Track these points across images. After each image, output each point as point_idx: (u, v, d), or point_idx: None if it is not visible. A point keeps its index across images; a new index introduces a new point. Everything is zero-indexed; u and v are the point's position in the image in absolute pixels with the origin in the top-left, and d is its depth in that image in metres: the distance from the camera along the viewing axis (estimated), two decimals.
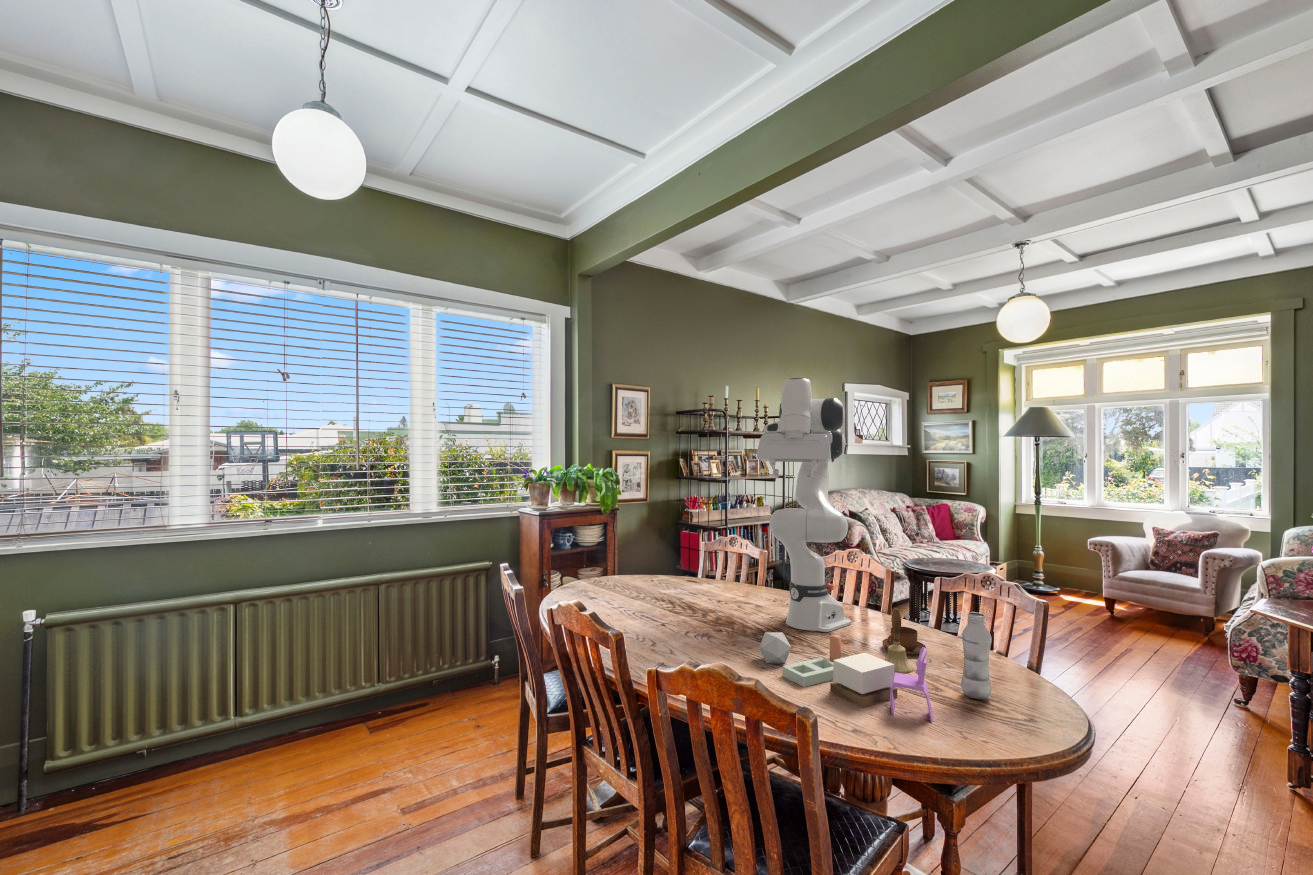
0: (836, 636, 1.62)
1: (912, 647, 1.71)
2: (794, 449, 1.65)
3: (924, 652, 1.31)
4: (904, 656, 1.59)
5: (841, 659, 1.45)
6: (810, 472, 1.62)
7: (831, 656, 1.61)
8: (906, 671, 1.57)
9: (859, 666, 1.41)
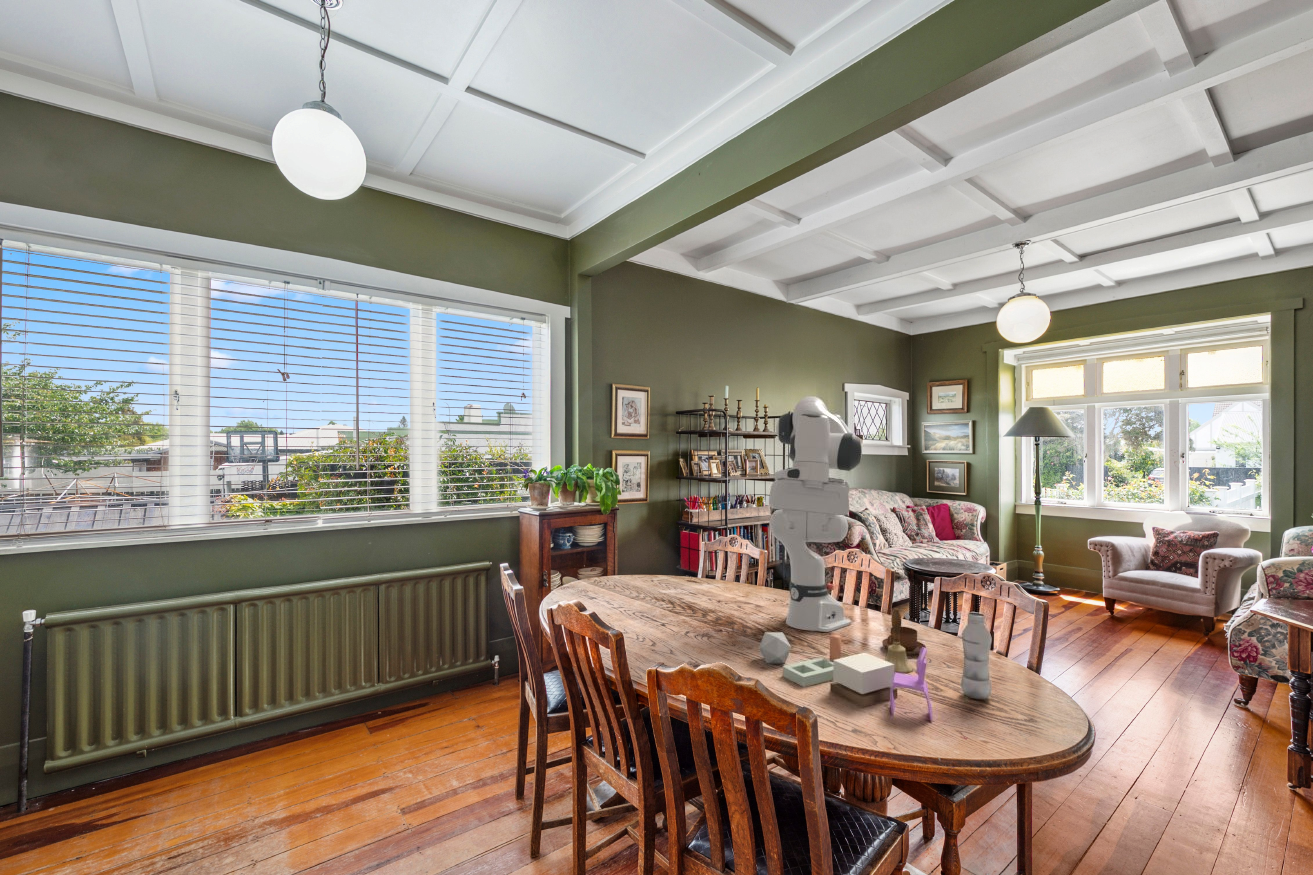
0: (836, 636, 1.62)
1: (912, 647, 1.71)
2: (813, 500, 1.46)
3: (924, 652, 1.31)
4: (904, 656, 1.59)
5: (841, 659, 1.45)
6: (828, 528, 1.46)
7: (831, 656, 1.61)
8: (906, 671, 1.57)
9: (859, 666, 1.41)
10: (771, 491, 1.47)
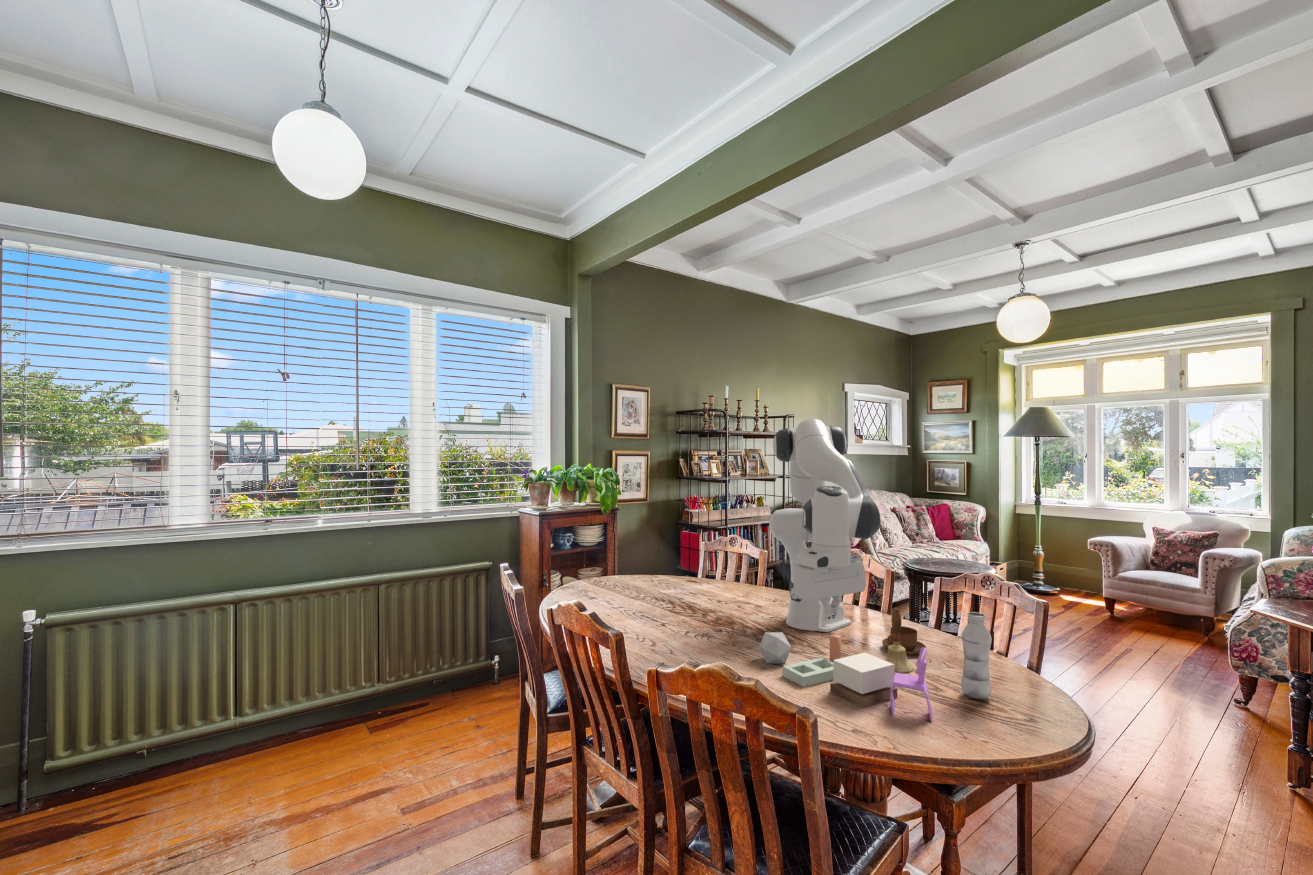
0: (836, 636, 1.62)
1: (912, 647, 1.71)
2: (837, 584, 1.37)
3: (924, 652, 1.31)
4: (904, 656, 1.59)
5: (841, 659, 1.45)
6: (836, 610, 1.38)
7: (831, 656, 1.61)
8: (906, 671, 1.57)
9: (859, 666, 1.41)
10: (796, 580, 1.34)
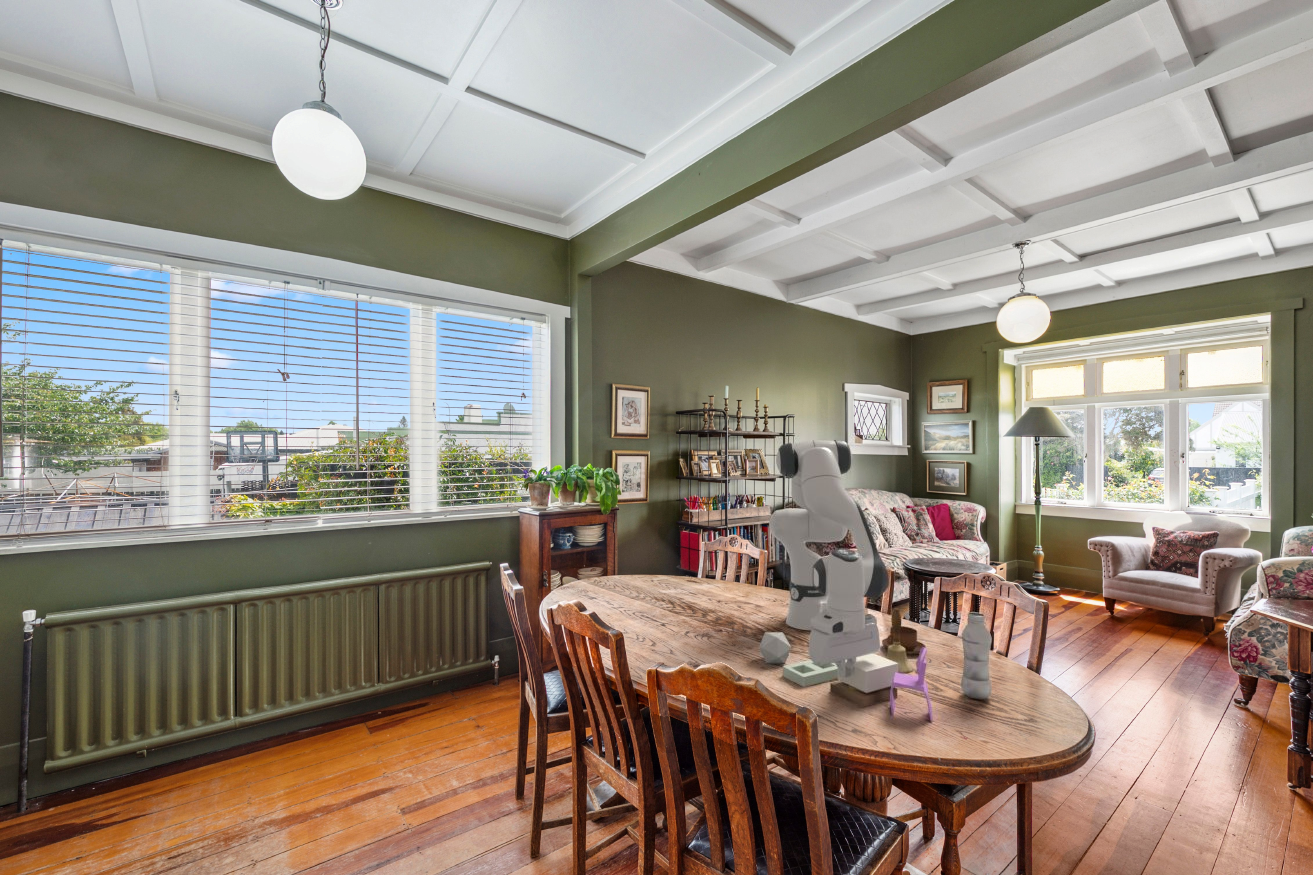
0: None
1: (912, 647, 1.71)
2: (852, 647, 1.39)
3: (924, 652, 1.31)
4: (904, 656, 1.59)
5: None
6: (850, 672, 1.40)
7: None
8: (906, 671, 1.57)
9: (863, 665, 1.41)
10: (812, 644, 1.37)
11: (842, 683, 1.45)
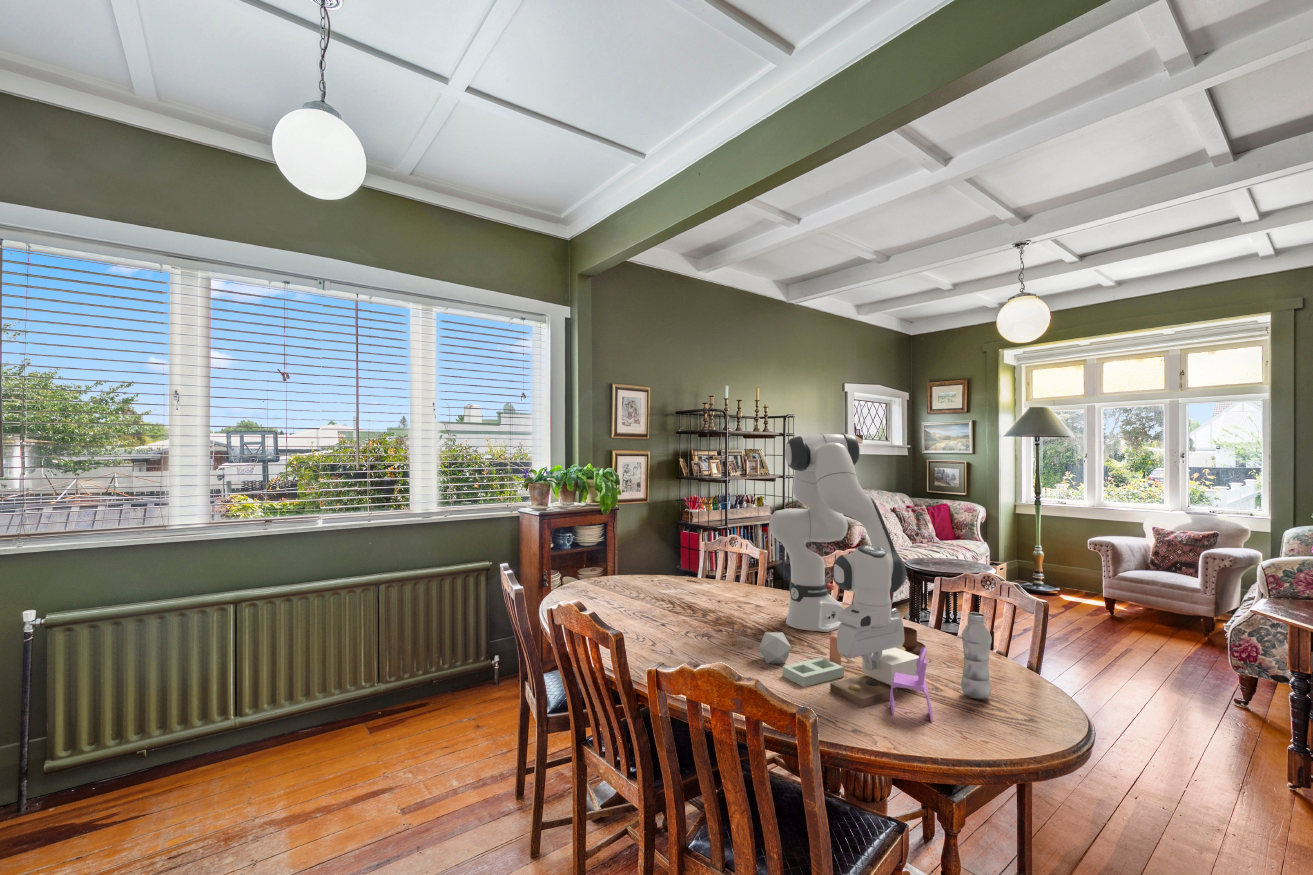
0: (836, 636, 1.62)
1: (912, 647, 1.71)
2: (878, 641, 1.43)
3: (924, 652, 1.31)
4: None
5: None
6: (877, 665, 1.44)
7: (831, 656, 1.61)
8: None
9: (888, 659, 1.45)
10: (840, 638, 1.41)
11: (842, 683, 1.45)
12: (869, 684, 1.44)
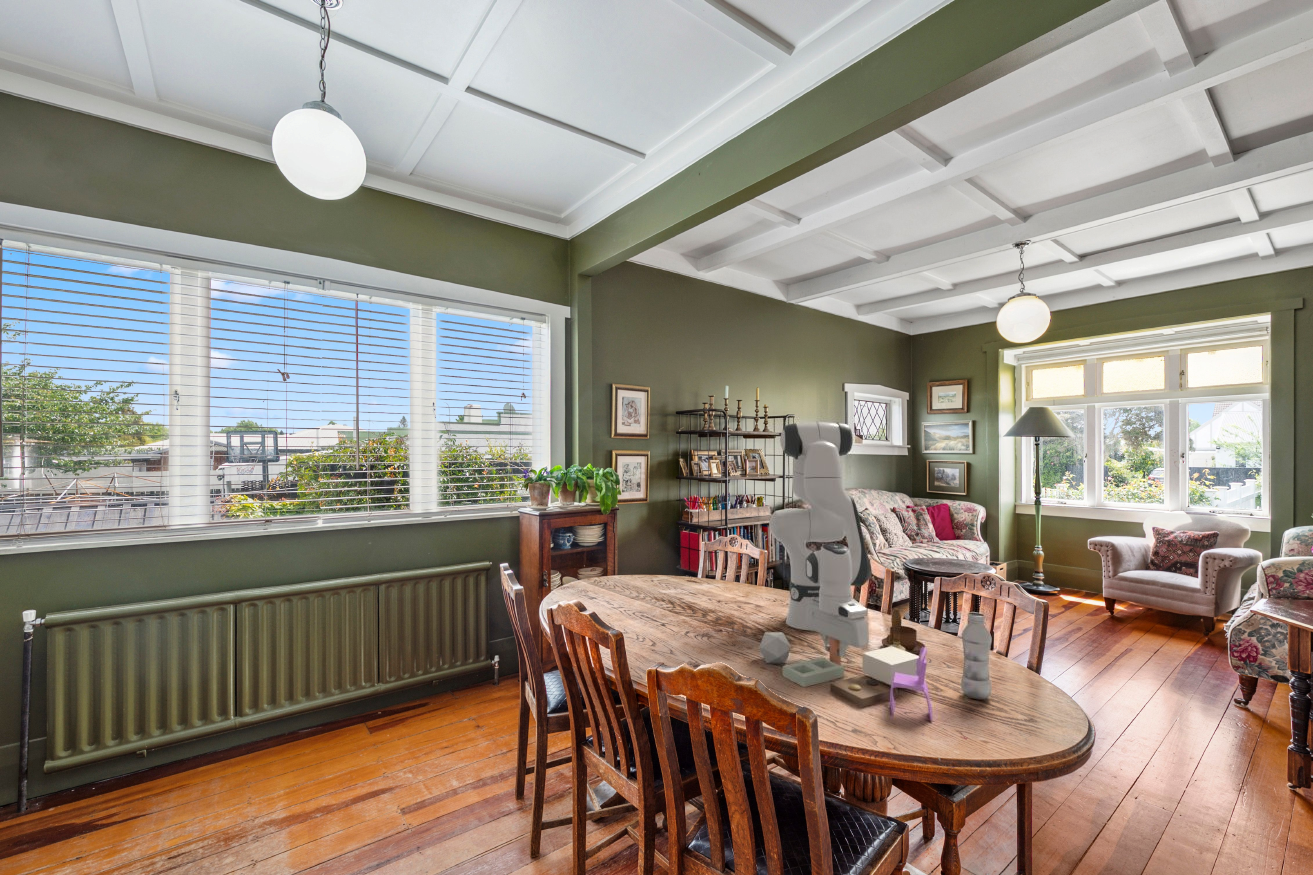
0: None
1: (911, 646, 1.71)
2: None
3: (924, 652, 1.31)
4: None
5: (870, 652, 1.50)
6: None
7: (831, 656, 1.61)
8: None
9: (888, 659, 1.45)
10: (861, 632, 1.53)
11: (842, 683, 1.45)
12: (869, 684, 1.44)
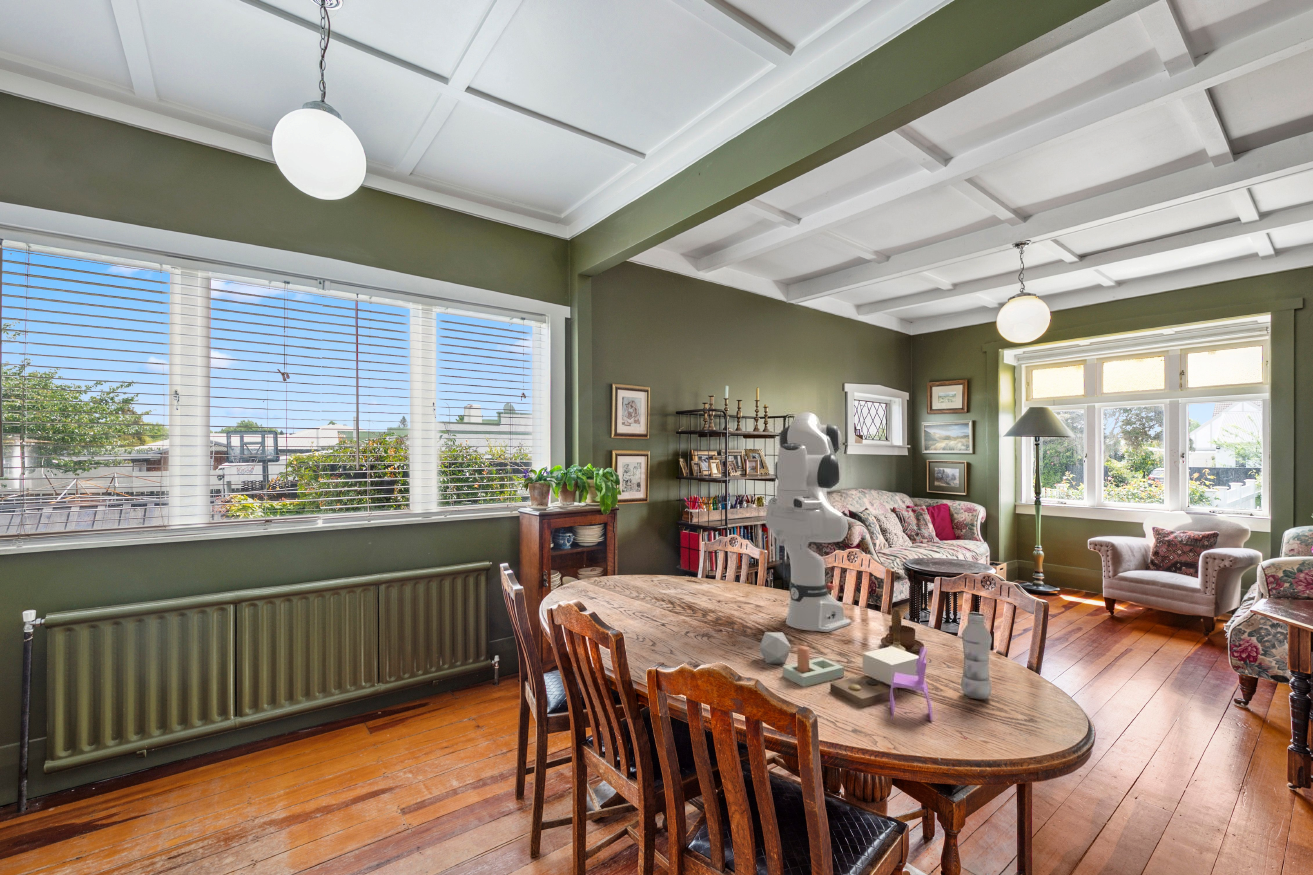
0: (804, 648, 1.52)
1: (910, 645, 1.72)
2: None
3: (924, 652, 1.31)
4: None
5: (870, 652, 1.50)
6: None
7: (799, 669, 1.52)
8: None
9: (888, 659, 1.45)
10: (814, 521, 1.60)
11: (842, 683, 1.45)
12: (869, 684, 1.44)
